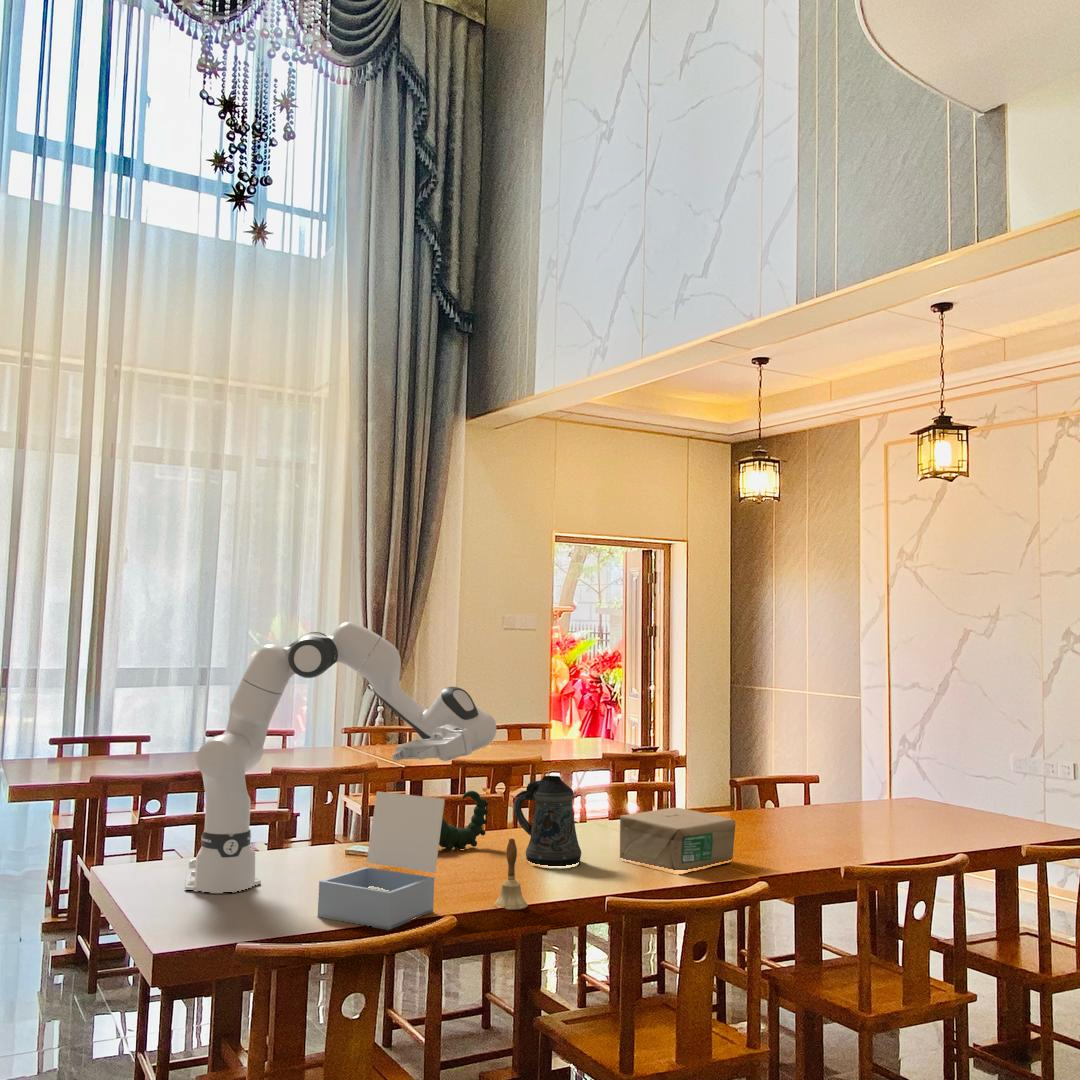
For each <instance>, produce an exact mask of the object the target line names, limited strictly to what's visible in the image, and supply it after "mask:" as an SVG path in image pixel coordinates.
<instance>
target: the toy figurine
mask: <svg viewBox="0 0 1080 1080" xmlns="http://www.w3.org/2000/svg"><path fill="white" fill-rule="evenodd" d="M467 798H471V800H473V801H475V806H474V808H473V815H472V816H471V818H470V821H471V822H469V824H468V825H467V826H466V827H464V828H463V827H456V826H455V825H454V824H453V825H452V824H448V822H447V821H446V819H445V818H444V817H442V825H441V833H440V840H439V847H440V848H443V849H444V848H445V850H446V851H453V849H454V848H455V849H459V850H460V849H465V850H466V846H467V845H470V846H471V847H473V848H474V847H477V845H478V841H477V840H476V839H477V837H479V836H485V835H486V831H485V829H483V825H487V823H488V820H487V819H485V816H486V815H488V814H489V811H488V809H487V807H488V806H489V802H488V801H487V800H486V798H484V797H481V796H480V794H479V793H478V792H477V791H475V790H469V791H466V792H464V794H463V795H462V800H464V799H467Z"/></svg>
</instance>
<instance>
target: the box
mask: <svg viewBox="0 0 1080 1080" xmlns="http://www.w3.org/2000/svg"><path fill="white" fill-rule="evenodd" d="M369 886H374V887H379V888H383V889H385V890H389V891H383V890H377V889H371V888H368V887H369ZM434 894H435V877H433V876H426V875H419V874H414V873H407V872H403V871H402V872H401V871H396V870H395V871H393V870H388V869H382V868H376V867H375V868H374V867H370V866H369V867H368V866H364V867H362V868H359V869H355V870H353V871H352V870H351V871H349V872H346V873H342V874H339V875H336V876H332V877H329V878H325V879H323V880H319V882H318V898H317V899H318V900H317V901H318V902H317V918H321V917H322V918H323V919H326V918H327V919H329V920H332V921H337V920H338V922H342V921H344V922H343V923H348V922H349V923H348V924H353V923H355V924H354V925H358V924H361V925H360V926H364V925H368V926H367V927H369V926H372V927H371V928H376V929H379V930H381V929H382V930H385V931H390V930H393V929H395V928H398V927H400V926H402V925H405V924H407V923H410V922H412V921H411V919H413V918H415V917H419V916H422V915H425V916H427V915H429V913H430V914H432V913H433V912H434V901H435V900H434V898H435V897H434V896H435V895H434ZM431 912H432V913H431ZM426 914H427V915H426ZM422 917H423V916H422Z"/></svg>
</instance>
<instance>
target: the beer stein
mask: <svg viewBox="0 0 1080 1080" xmlns="http://www.w3.org/2000/svg"><path fill="white" fill-rule="evenodd" d="M574 797H575V792H574V790H573V789H572V788H571V787H570V786H568V784H567V783H566V782H564V781H563V780H562V778H561V776H559V775H544V776H542V778H541V779H540V780H534V781H530V782H529V783H528V784H527V786H526V789H525V790H522V791H520V792H519V793H517V794H516V795H515V799H514V801H513V812H514V816H515V819H516V820H517V822H518V823H519V825H520V826H521V828H522V829H523V830H524V831H525V833H527V834H528V835H529V836H530V838H529V841H528V845H527V847H526V850H525V856H526V861H527V860H528V861H530V862H532V863H535V864H540V865H548V866H566V865H572V864H576V863H578V862H580V863H581V857H582V849H581V847H580V844H579V841H578V835H577V831H576V823H575V817H574V816H575V815H574V810H573V809H574V808H573V800H574ZM525 801H534V809H533V810H534V812H533V817H532V824H530V822H529V821H528V819H526V817H525V815H524V813H523V809H522V805H523V803H524V802H525Z"/></svg>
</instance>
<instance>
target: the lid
mask: <svg viewBox="0 0 1080 1080" xmlns="http://www.w3.org/2000/svg"><path fill="white" fill-rule="evenodd" d="M445 801H446V800H445V798H439V797H433V796H431V797H430V796H422V795H414V794H413V795H412V794H403V793H396V792H385V791H376V795H375V802H374V810H373V816H372V823H371V830H370V837H369V842H368V843H369V844H368V851H367V856H366V857H367V858H366V863H368V864H375V865H380V866H387V867H395V868H400V869H407V870H414V871H418V872H419V871H421V872H427V873H431V874H432V873H436V870H437V863H438V854H439V847H440V845H439V840H440V833H441V825H442V817H443V815H444V809H445ZM443 818H444V817H443Z"/></svg>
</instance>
